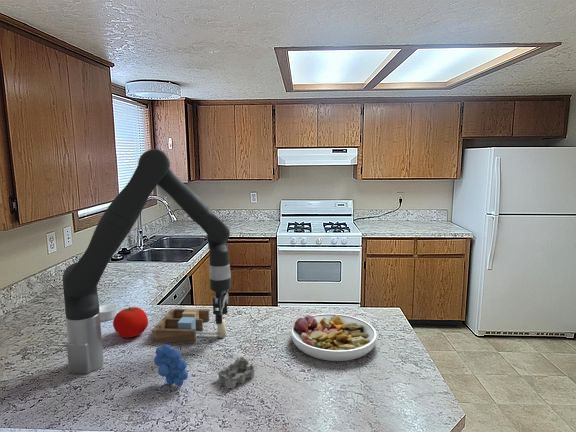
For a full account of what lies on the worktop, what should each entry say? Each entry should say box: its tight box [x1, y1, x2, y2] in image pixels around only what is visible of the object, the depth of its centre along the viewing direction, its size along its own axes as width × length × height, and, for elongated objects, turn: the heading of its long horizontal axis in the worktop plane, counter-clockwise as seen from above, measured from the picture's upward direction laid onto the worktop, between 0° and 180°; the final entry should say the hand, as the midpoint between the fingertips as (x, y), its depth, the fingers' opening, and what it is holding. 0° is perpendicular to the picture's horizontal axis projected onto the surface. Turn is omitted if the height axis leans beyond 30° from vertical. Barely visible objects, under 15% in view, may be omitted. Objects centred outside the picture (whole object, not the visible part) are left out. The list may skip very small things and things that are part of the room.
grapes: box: [153, 343, 189, 387], centre depth 109 cm, size 12×7×12 cm, turn 67°
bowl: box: [290, 313, 377, 362], centre depth 135 cm, size 30×30×8 cm
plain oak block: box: [182, 308, 200, 319], centre depth 150 cm, size 5×5×6 cm
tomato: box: [112, 306, 149, 339], centre depth 141 cm, size 11×12×10 cm
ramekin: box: [99, 303, 119, 322], centre depth 157 cm, size 9×9×4 cm
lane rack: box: [151, 308, 210, 344], centre depth 145 cm, size 20×16×4 cm
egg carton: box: [216, 356, 257, 389], centre depth 113 cm, size 11×8×4 cm
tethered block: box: [178, 317, 227, 339], centre depth 140 cm, size 5×17×6 cm, turn 87°
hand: (221, 318), depth 140 cm, fingers open, 8 cm apart
